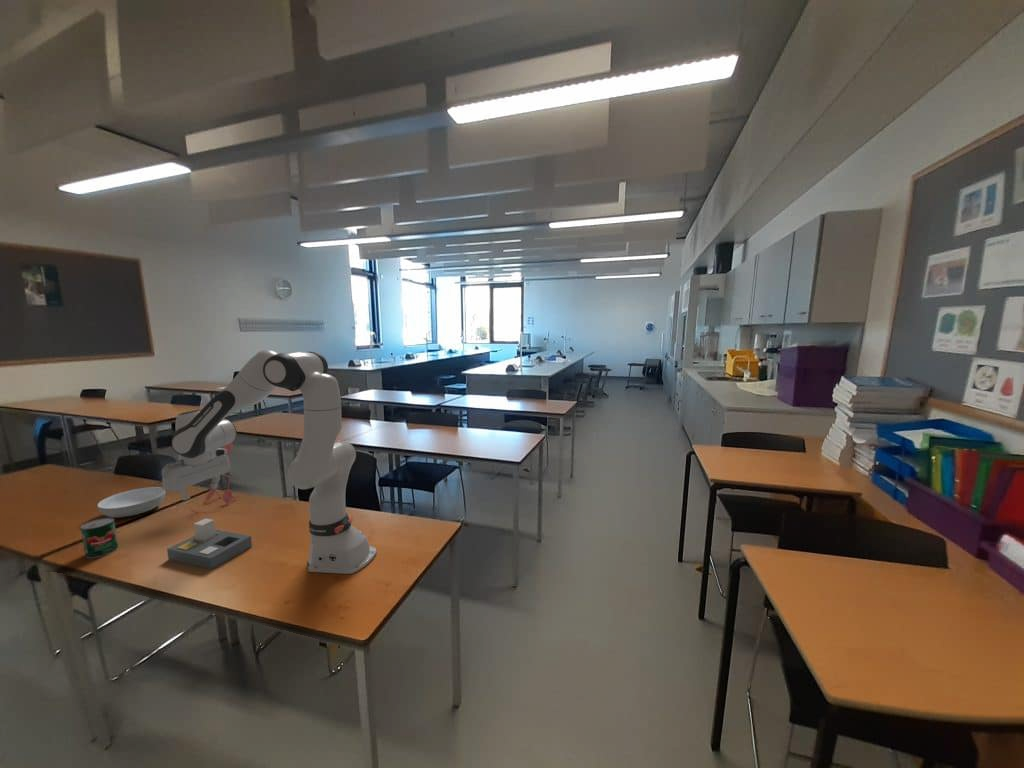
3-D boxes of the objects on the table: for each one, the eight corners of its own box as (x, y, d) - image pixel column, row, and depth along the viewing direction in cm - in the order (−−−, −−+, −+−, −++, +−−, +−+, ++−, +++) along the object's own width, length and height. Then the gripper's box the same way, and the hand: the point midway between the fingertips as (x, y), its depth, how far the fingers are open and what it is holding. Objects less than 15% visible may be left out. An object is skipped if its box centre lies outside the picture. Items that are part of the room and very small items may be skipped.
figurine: (210, 493, 180) (201, 423, 174) (250, 501, 172) (241, 428, 166) (174, 508, 165) (161, 432, 160) (215, 517, 157) (204, 438, 152)
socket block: (252, 546, 136) (250, 535, 135) (212, 569, 122) (210, 557, 122) (211, 538, 141) (209, 527, 140) (168, 559, 128) (166, 548, 127)
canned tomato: (106, 544, 137) (102, 516, 135) (124, 546, 135) (120, 518, 134) (78, 557, 129) (73, 527, 127) (97, 559, 128) (92, 529, 126)
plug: (216, 545, 136) (213, 519, 135) (205, 551, 132) (202, 525, 131) (208, 543, 137) (205, 518, 136) (197, 549, 133) (193, 523, 132)
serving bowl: (83, 523, 152) (81, 507, 151) (136, 500, 173) (134, 486, 172) (133, 524, 151) (131, 508, 150) (180, 501, 172) (178, 487, 171)
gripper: (168, 466, 119) (173, 507, 121) (231, 448, 139) (235, 483, 141) (154, 465, 121) (159, 505, 123) (218, 446, 141) (222, 481, 142)
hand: (200, 493), depth 132 cm, fingers open, 8 cm apart
